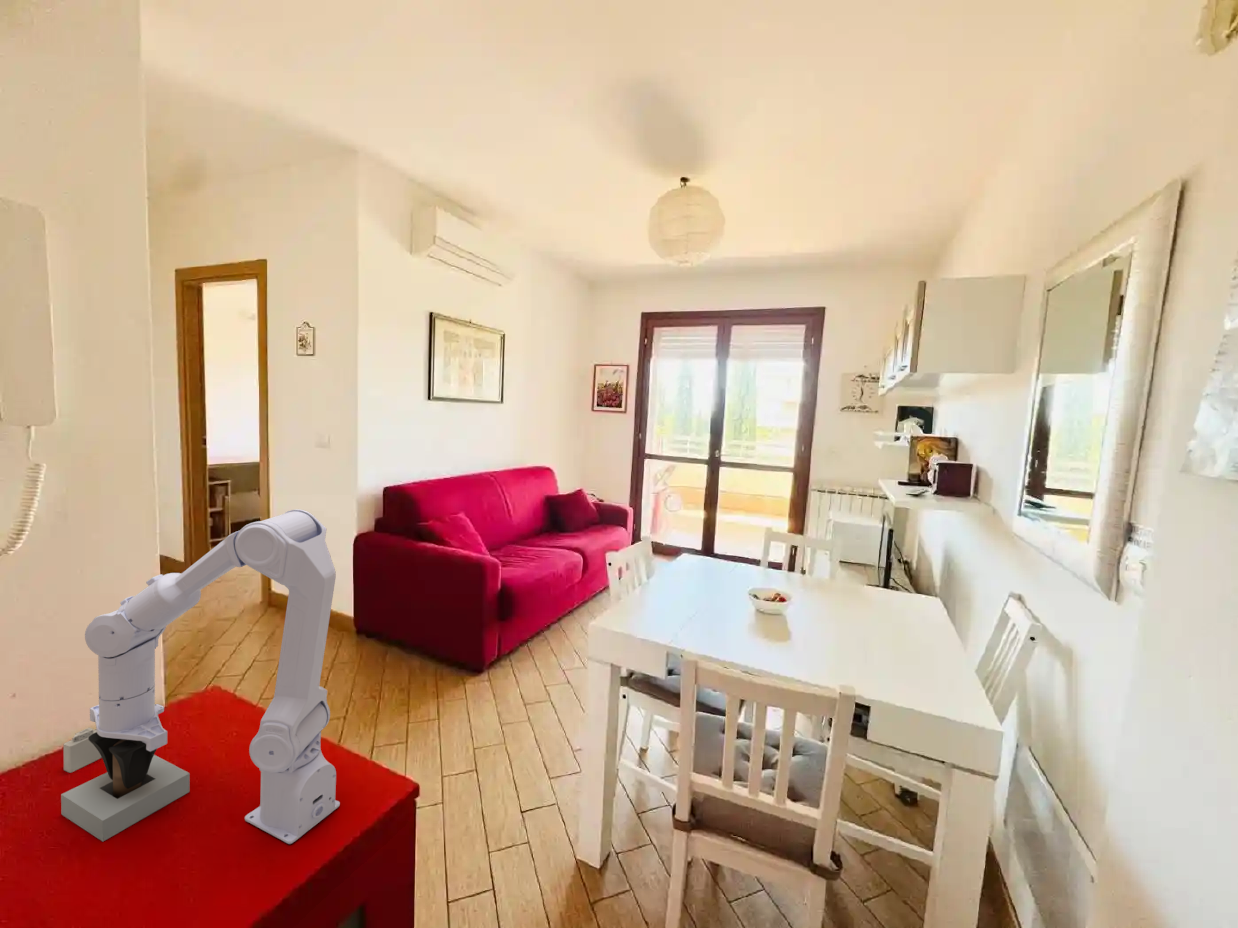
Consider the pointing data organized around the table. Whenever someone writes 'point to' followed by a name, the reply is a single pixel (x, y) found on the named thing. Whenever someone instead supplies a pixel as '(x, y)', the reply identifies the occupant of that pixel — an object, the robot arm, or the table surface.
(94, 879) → the table surface
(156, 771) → the socket block
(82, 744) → the lighter
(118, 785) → the walnut peg
